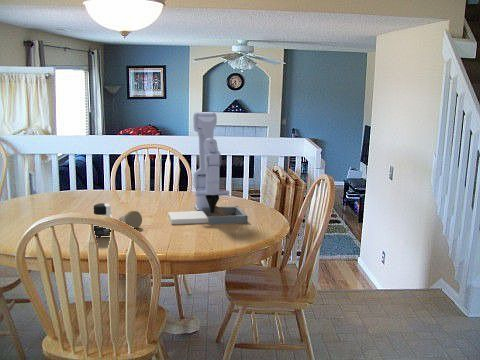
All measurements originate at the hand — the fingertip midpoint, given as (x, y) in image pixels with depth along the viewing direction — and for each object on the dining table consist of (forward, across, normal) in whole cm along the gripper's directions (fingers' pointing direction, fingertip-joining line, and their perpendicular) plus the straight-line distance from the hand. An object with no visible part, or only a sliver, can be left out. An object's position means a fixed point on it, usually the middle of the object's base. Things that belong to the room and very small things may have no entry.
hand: (212, 212), depth 218 cm
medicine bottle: (+3, -45, -17) cm, 48 cm away
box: (+3, +5, 0) cm, 6 cm away
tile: (+1, +3, +1) cm, 4 cm away
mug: (+3, -35, -7) cm, 36 cm away
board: (+3, -10, 0) cm, 11 cm away
